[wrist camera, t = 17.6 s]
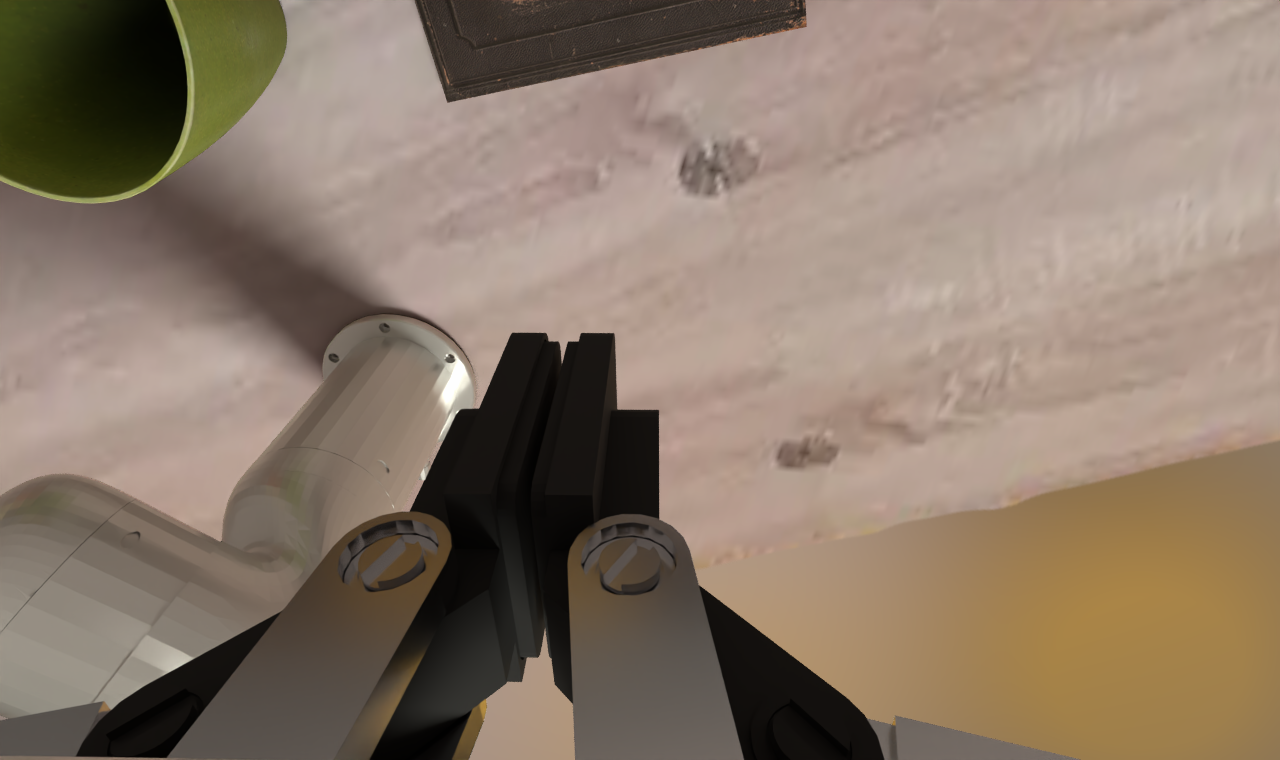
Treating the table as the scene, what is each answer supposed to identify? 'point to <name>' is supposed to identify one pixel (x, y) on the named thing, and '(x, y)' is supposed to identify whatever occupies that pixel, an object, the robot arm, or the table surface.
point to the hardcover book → (581, 35)
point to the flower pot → (125, 88)
